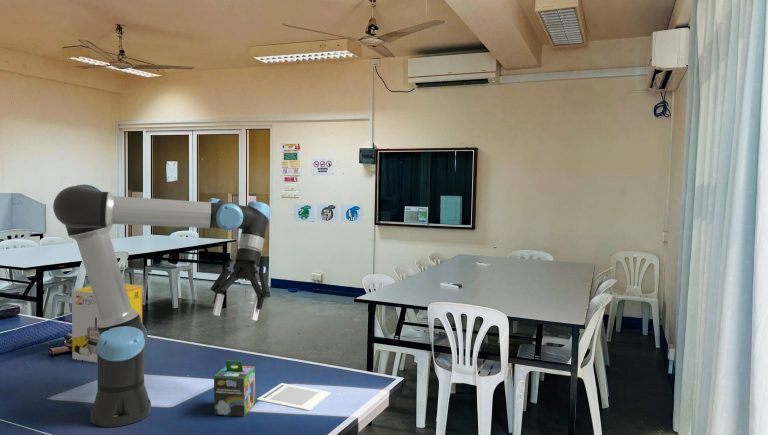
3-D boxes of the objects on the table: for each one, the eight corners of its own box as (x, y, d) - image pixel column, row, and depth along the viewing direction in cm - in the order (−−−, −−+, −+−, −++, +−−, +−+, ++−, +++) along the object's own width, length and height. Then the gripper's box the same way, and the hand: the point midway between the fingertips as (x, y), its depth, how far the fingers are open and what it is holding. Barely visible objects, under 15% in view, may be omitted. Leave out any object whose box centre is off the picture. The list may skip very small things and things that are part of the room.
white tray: (309, 410, 155) (309, 409, 155) (256, 400, 161) (256, 398, 161) (331, 393, 168) (331, 392, 168) (281, 383, 174) (281, 382, 174)
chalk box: (255, 404, 159) (256, 355, 157) (244, 417, 149) (245, 365, 148) (225, 401, 159) (226, 353, 158) (212, 415, 150) (213, 363, 149)
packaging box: (72, 359, 192) (71, 290, 190) (107, 345, 207) (107, 282, 205) (108, 364, 187) (108, 294, 185) (142, 350, 202) (142, 285, 201)
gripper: (290, 255, 168) (276, 323, 162) (223, 250, 176) (208, 315, 170) (278, 249, 161) (263, 320, 155) (209, 244, 169) (193, 311, 164)
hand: (234, 317), depth 163 cm, fingers open, 13 cm apart
